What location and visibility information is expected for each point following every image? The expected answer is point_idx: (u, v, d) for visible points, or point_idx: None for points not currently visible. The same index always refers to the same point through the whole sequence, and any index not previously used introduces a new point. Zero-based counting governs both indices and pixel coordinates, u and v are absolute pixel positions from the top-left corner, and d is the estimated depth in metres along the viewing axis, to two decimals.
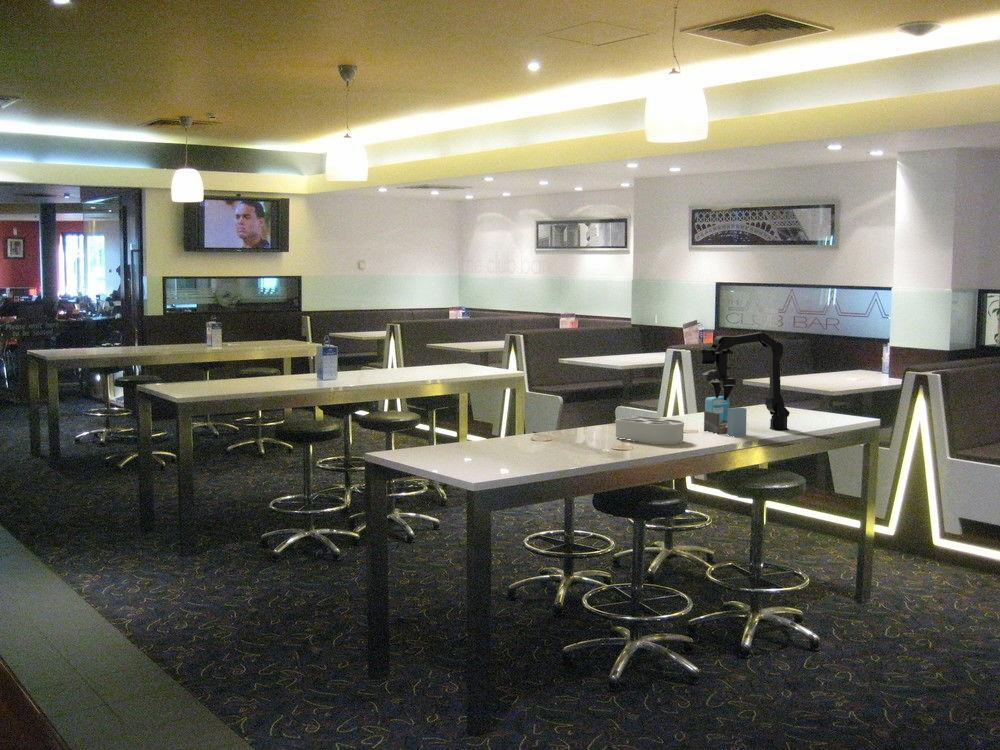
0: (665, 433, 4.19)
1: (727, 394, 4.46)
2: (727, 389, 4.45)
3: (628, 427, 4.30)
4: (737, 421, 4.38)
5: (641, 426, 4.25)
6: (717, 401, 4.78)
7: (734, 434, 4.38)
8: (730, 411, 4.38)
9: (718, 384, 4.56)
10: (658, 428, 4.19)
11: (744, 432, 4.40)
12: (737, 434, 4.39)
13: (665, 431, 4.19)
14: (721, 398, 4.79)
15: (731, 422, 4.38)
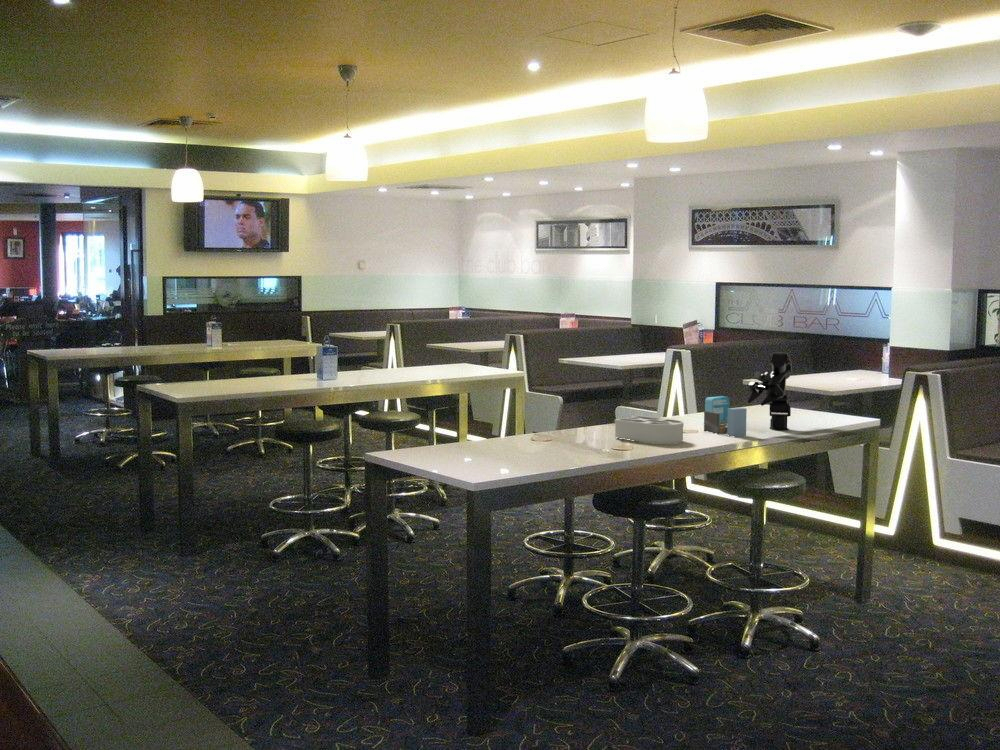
0: (665, 433, 4.19)
1: (767, 401, 4.39)
2: (770, 397, 4.40)
3: (627, 427, 4.30)
4: (737, 421, 4.38)
5: (641, 426, 4.25)
6: (717, 401, 4.78)
7: (734, 434, 4.38)
8: (730, 411, 4.38)
9: (756, 393, 4.50)
10: (658, 428, 4.19)
11: (744, 432, 4.40)
12: (737, 434, 4.39)
13: (665, 431, 4.19)
14: (721, 398, 4.79)
15: (731, 422, 4.38)
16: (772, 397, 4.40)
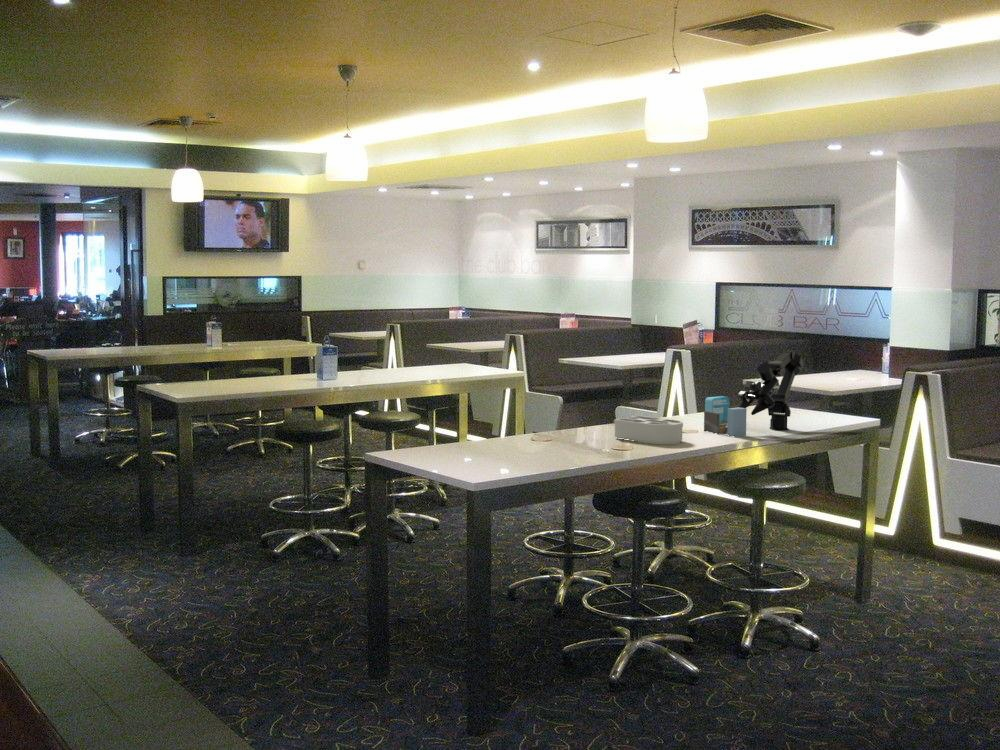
0: (664, 433, 4.19)
1: (757, 410, 4.37)
2: (760, 406, 4.38)
3: (627, 427, 4.30)
4: (737, 421, 4.38)
5: (640, 426, 4.25)
6: (717, 401, 4.78)
7: (734, 434, 4.38)
8: (730, 411, 4.38)
9: (747, 402, 4.48)
10: (657, 428, 4.19)
11: (744, 432, 4.40)
12: (737, 434, 4.39)
13: (664, 431, 4.19)
14: (721, 398, 4.79)
15: (731, 422, 4.38)
16: (763, 406, 4.38)
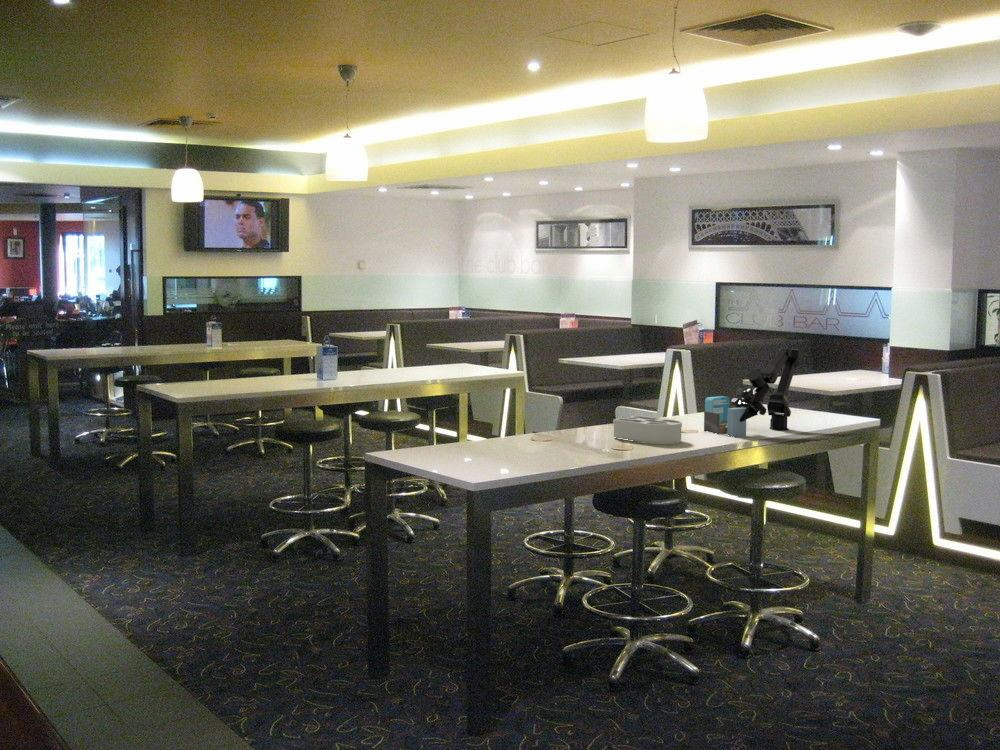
0: (663, 433, 4.19)
1: (746, 417, 4.38)
2: (749, 413, 4.39)
3: (626, 427, 4.30)
4: (737, 421, 4.38)
5: (639, 426, 4.25)
6: (717, 401, 4.78)
7: (734, 434, 4.38)
8: (730, 411, 4.38)
9: None
10: (656, 428, 4.19)
11: (744, 432, 4.40)
12: (737, 434, 4.39)
13: (663, 431, 4.19)
14: (721, 398, 4.79)
15: (731, 422, 4.38)
16: (751, 413, 4.39)
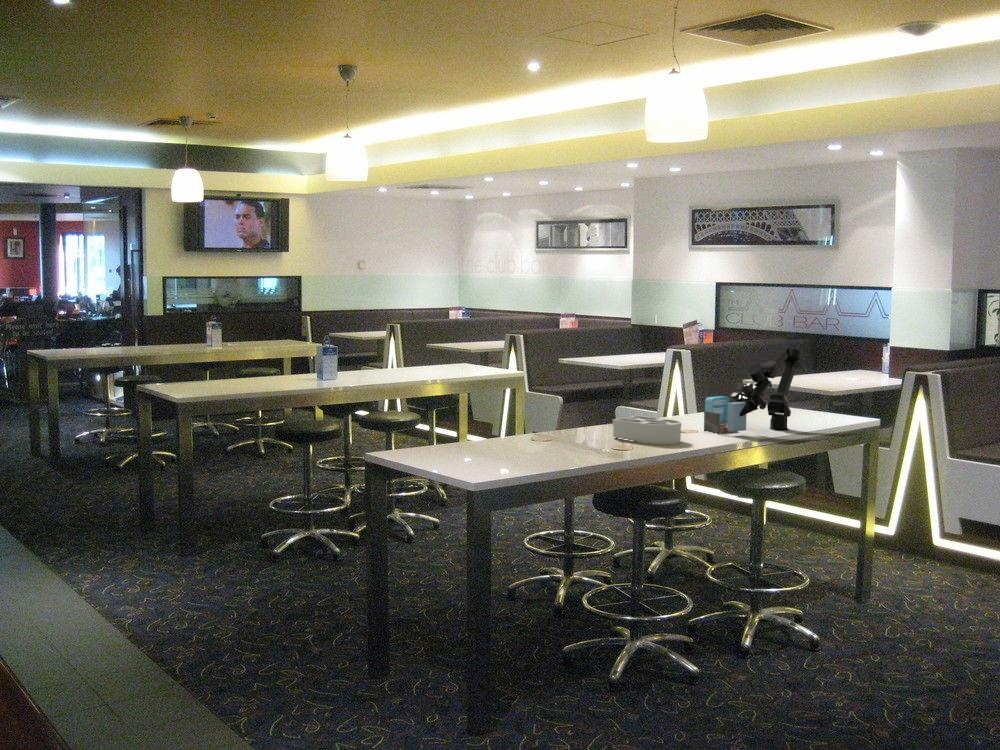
0: (662, 433, 4.19)
1: (746, 412, 4.38)
2: (749, 408, 4.38)
3: (625, 427, 4.30)
4: (737, 415, 4.38)
5: (638, 426, 4.25)
6: (717, 401, 4.78)
7: (734, 428, 4.38)
8: (730, 405, 4.38)
9: None
10: (655, 428, 4.19)
11: (745, 427, 4.40)
12: (737, 428, 4.38)
13: (662, 431, 4.18)
14: (721, 398, 4.79)
15: (731, 416, 4.38)
16: (751, 408, 4.38)
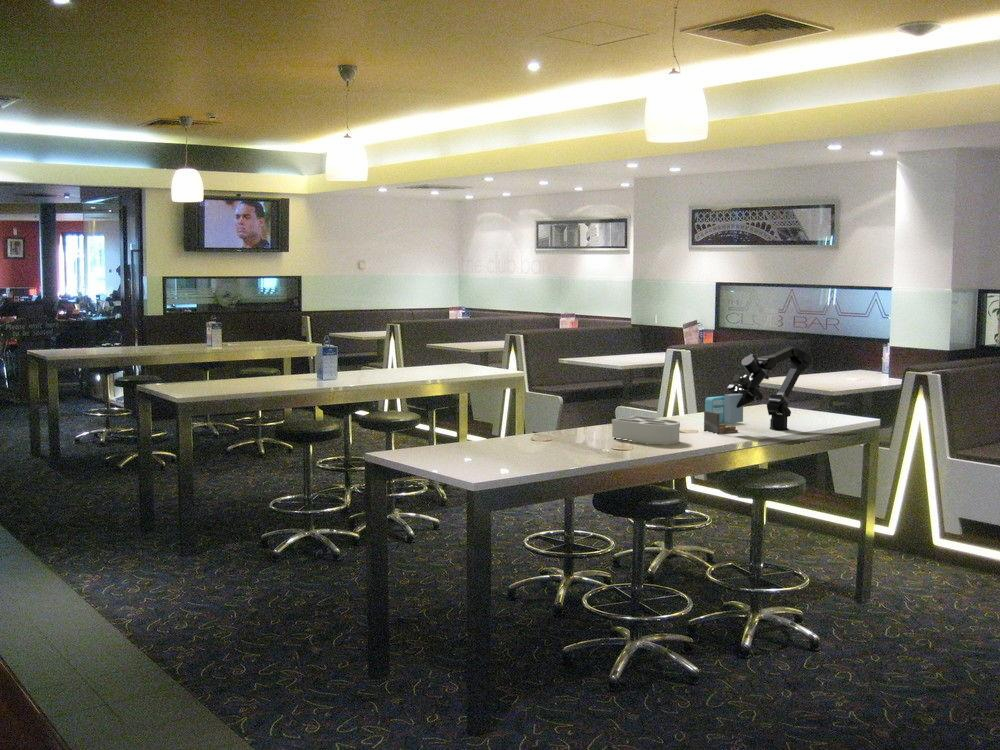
0: (660, 433, 4.18)
1: (742, 403, 4.41)
2: (746, 399, 4.41)
3: (624, 427, 4.30)
4: (734, 407, 4.40)
5: (637, 426, 4.24)
6: (717, 401, 4.78)
7: (731, 420, 4.40)
8: (727, 397, 4.41)
9: None
10: (653, 428, 4.19)
11: (741, 418, 4.43)
12: (734, 420, 4.41)
13: (660, 431, 4.18)
14: (721, 398, 4.79)
15: (728, 408, 4.40)
16: (748, 399, 4.41)
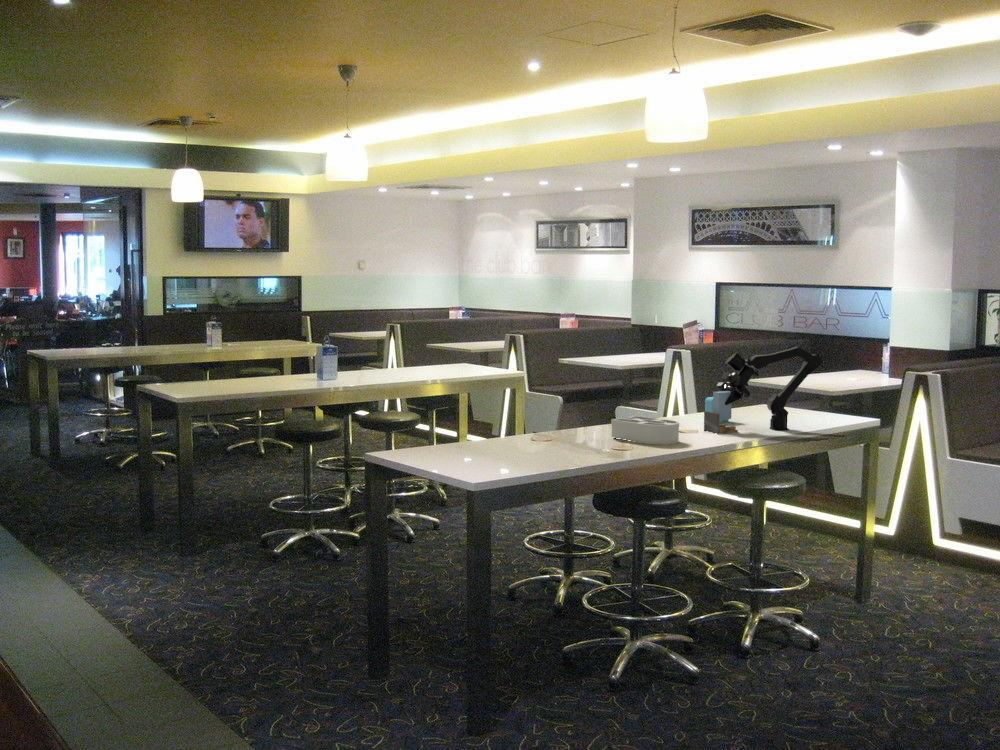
0: (659, 433, 4.18)
1: (731, 401, 4.50)
2: (734, 397, 4.50)
3: (623, 427, 4.30)
4: (722, 404, 4.49)
5: (636, 426, 4.24)
6: None
7: (719, 417, 4.49)
8: (716, 394, 4.50)
9: None
10: (652, 428, 4.19)
11: (730, 415, 4.52)
12: (722, 417, 4.50)
13: (659, 431, 4.18)
14: None
15: (717, 405, 4.50)
16: (736, 397, 4.50)
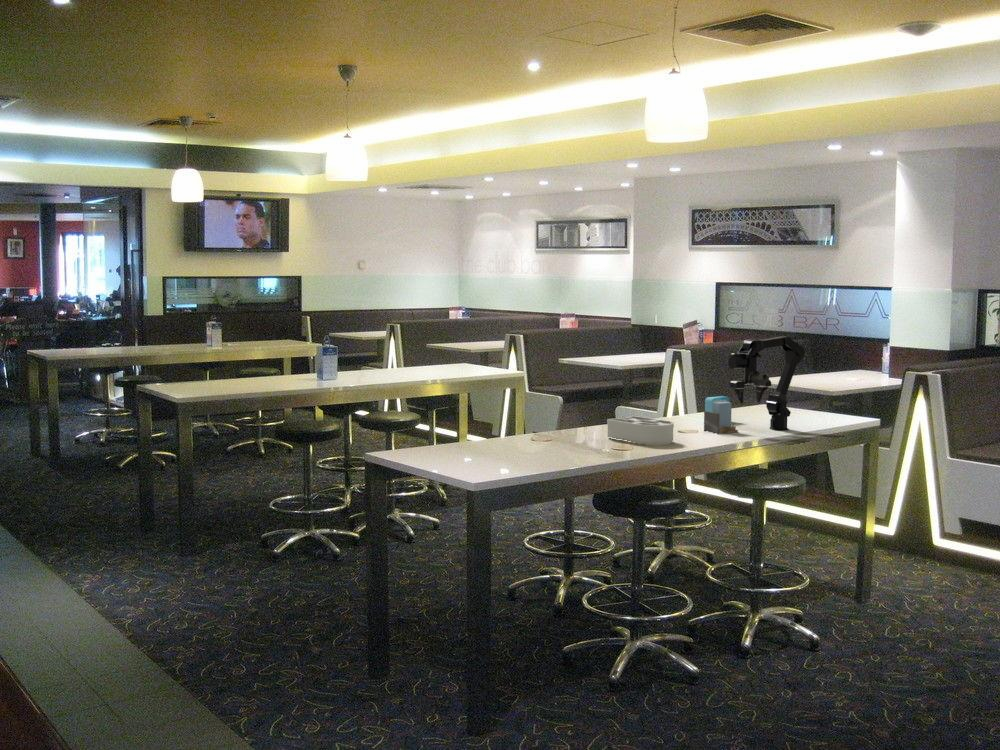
0: (652, 434, 4.17)
1: None
2: None
3: (618, 427, 4.30)
4: (722, 415, 4.50)
5: (630, 426, 4.24)
6: (717, 401, 4.78)
7: (719, 427, 4.50)
8: (716, 405, 4.50)
9: None
10: (645, 429, 4.18)
11: (730, 426, 4.52)
12: None
13: (652, 432, 4.17)
14: (721, 398, 4.79)
15: None
16: None
